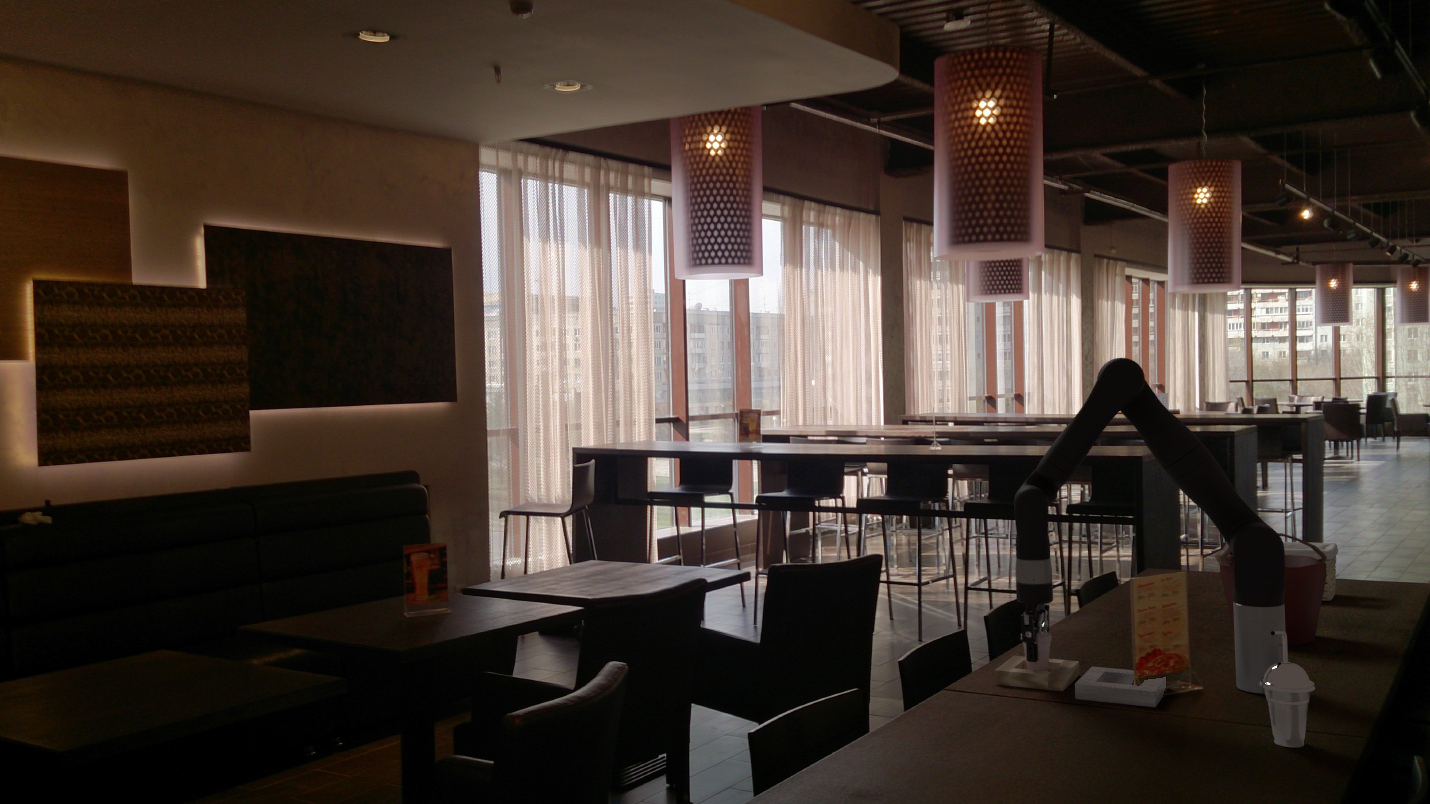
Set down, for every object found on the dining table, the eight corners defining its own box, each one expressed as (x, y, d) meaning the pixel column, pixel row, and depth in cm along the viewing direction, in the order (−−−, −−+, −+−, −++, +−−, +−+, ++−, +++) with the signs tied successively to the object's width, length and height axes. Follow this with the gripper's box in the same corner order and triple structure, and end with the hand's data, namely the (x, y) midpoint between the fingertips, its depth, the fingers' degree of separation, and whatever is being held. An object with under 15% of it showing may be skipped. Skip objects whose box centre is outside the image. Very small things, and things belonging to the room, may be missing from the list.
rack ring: (1168, 688, 224) (1168, 673, 224) (1155, 707, 211) (1154, 691, 211) (1092, 680, 232) (1091, 666, 232) (1075, 698, 219) (1074, 683, 219)
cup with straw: (1329, 747, 185) (1325, 628, 185) (1285, 754, 182) (1281, 633, 182) (1289, 733, 193) (1285, 619, 193) (1247, 739, 190) (1243, 624, 190)
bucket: (1218, 644, 259) (1214, 538, 259) (1214, 625, 280) (1210, 527, 280) (1337, 649, 250) (1333, 539, 250) (1324, 629, 271) (1320, 527, 270)
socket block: (1079, 675, 237) (1078, 661, 237) (1063, 691, 225) (1062, 676, 225) (1014, 668, 244) (1014, 655, 244) (995, 684, 232) (994, 670, 232)
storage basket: (1238, 597, 314) (1236, 546, 314) (1248, 588, 327) (1246, 538, 327) (1334, 604, 300) (1332, 550, 300) (1340, 594, 314) (1339, 542, 314)
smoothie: (1055, 683, 231) (1052, 617, 231) (1023, 683, 232) (1020, 617, 232) (1052, 676, 237) (1049, 610, 237) (1021, 675, 238) (1018, 611, 238)
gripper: (1042, 586, 226) (1045, 667, 226) (1060, 575, 239) (1063, 652, 239) (1006, 584, 230) (1009, 664, 230) (1025, 573, 243) (1028, 649, 243)
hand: (1036, 657), depth 234 cm, fingers closed on smoothie, 6 cm apart
